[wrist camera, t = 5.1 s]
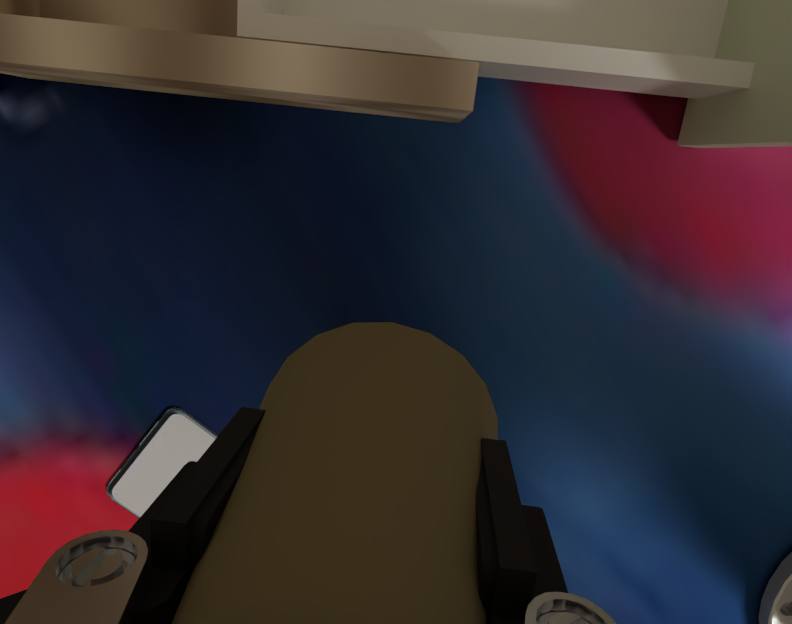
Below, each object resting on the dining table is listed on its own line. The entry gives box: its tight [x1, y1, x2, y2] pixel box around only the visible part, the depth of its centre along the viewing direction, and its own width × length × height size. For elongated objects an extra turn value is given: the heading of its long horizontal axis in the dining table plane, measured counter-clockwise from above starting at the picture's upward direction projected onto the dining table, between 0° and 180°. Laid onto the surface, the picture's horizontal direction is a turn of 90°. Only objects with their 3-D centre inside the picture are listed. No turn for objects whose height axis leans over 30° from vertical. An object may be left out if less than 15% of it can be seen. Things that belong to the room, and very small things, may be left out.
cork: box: [172, 322, 498, 624], centre depth 9 cm, size 6×6×11 cm
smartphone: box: [107, 408, 218, 518], centre depth 30 cm, size 7×1×15 cm
